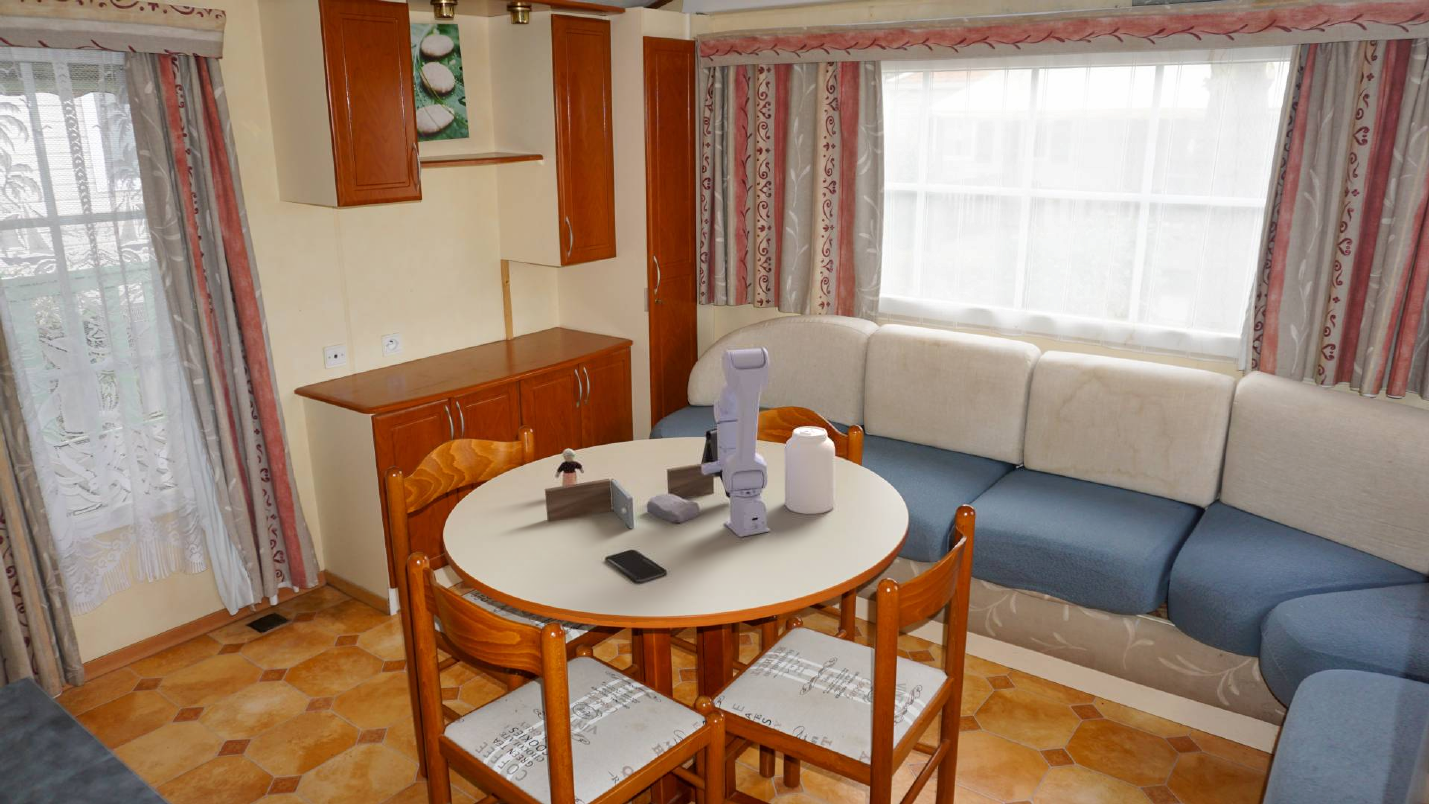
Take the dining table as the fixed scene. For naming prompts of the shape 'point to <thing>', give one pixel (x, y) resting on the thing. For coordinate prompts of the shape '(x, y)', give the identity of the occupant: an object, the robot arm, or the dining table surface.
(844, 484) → the dining table surface
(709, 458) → the phone stand
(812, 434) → the can
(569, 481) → the grandmother figurine
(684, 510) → the stone block
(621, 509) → the door
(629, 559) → the phone
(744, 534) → the robot arm
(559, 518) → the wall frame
